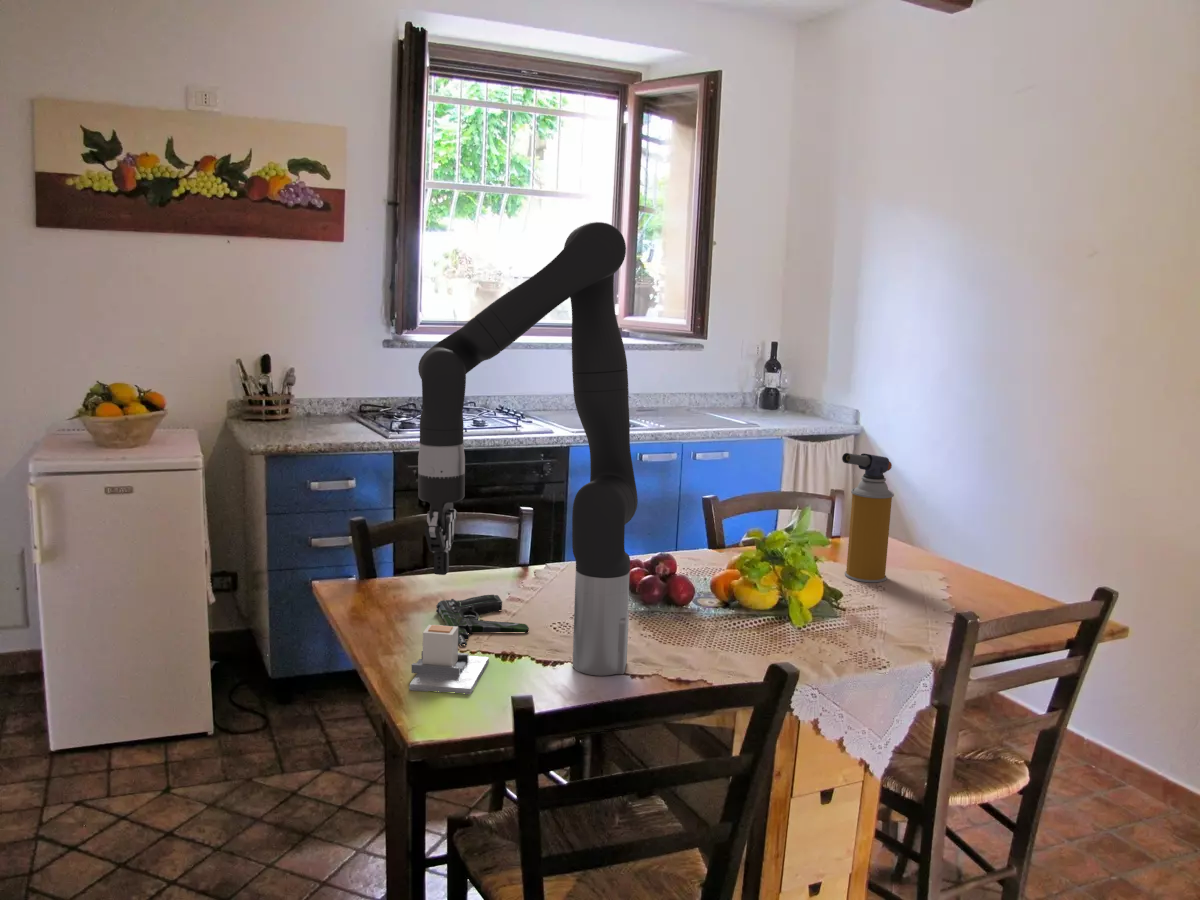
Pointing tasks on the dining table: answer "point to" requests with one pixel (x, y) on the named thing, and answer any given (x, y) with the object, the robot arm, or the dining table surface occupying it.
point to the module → (440, 645)
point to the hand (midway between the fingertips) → (441, 573)
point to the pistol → (475, 616)
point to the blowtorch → (869, 519)
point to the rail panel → (449, 675)
